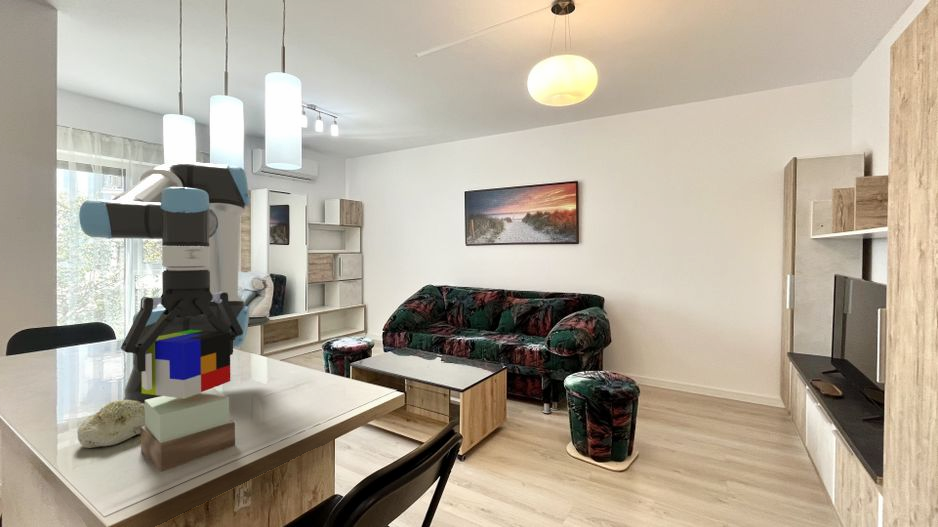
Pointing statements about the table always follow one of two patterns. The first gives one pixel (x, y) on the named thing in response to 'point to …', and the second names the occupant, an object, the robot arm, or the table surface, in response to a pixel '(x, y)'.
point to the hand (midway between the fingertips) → (188, 379)
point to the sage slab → (185, 414)
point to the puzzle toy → (189, 363)
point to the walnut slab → (186, 445)
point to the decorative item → (112, 424)
